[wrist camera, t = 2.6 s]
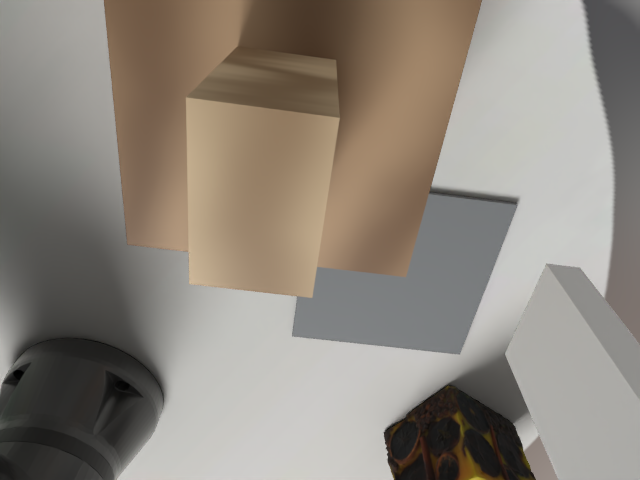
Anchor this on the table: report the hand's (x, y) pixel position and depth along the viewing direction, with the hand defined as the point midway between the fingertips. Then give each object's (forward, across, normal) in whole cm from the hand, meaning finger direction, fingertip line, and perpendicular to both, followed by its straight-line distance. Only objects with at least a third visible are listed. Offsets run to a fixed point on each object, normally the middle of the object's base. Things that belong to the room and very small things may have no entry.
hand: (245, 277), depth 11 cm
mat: (+25, +10, -16) cm, 31 cm away
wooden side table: (+25, 0, 0) cm, 25 cm away
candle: (+25, +20, -35) cm, 48 cm away
